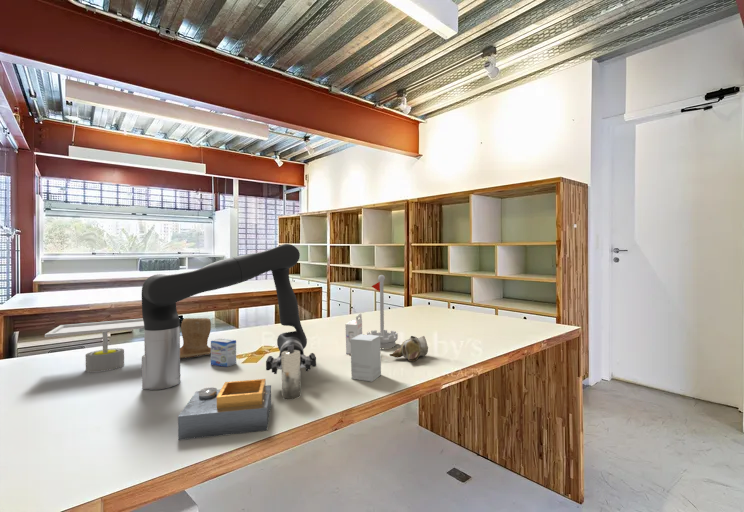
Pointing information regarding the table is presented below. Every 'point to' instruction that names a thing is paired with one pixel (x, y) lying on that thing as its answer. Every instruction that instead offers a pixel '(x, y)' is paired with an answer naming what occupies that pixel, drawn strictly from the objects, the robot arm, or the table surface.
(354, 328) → the ink cartridge box
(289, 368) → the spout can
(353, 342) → the supplement box
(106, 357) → the solar panel model
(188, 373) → the table surface
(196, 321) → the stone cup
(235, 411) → the grey base with tray
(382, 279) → the flag stand
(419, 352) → the ceramic sculpture
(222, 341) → the medicine box
